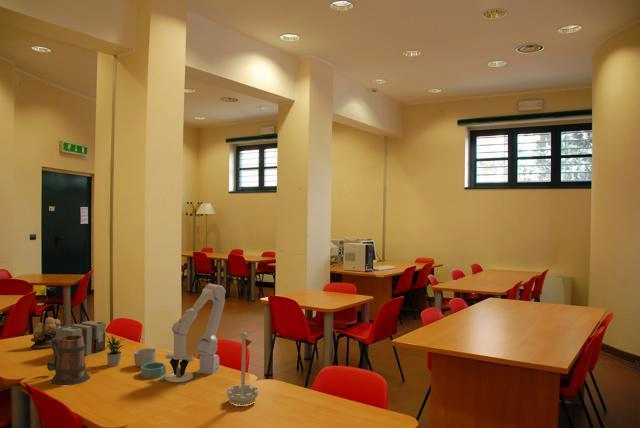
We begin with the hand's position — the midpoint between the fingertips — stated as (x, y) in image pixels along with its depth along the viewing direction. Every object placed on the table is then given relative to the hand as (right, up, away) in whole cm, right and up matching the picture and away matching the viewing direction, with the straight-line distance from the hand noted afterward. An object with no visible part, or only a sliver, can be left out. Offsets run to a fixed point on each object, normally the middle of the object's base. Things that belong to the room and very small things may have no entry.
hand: (179, 374), depth 238 cm
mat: (0, -2, 0) cm, 2 cm away
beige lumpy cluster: (-91, 0, +49) cm, 103 cm away
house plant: (-41, -1, +18) cm, 44 cm away
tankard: (-53, -1, -4) cm, 53 cm away
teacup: (-23, -1, +19) cm, 30 cm away
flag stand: (+35, -3, -27) cm, 44 cm away
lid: (0, -1, 0) cm, 1 cm away
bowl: (-14, -1, +4) cm, 15 cm away
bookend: (-66, 0, +36) cm, 75 cm away
